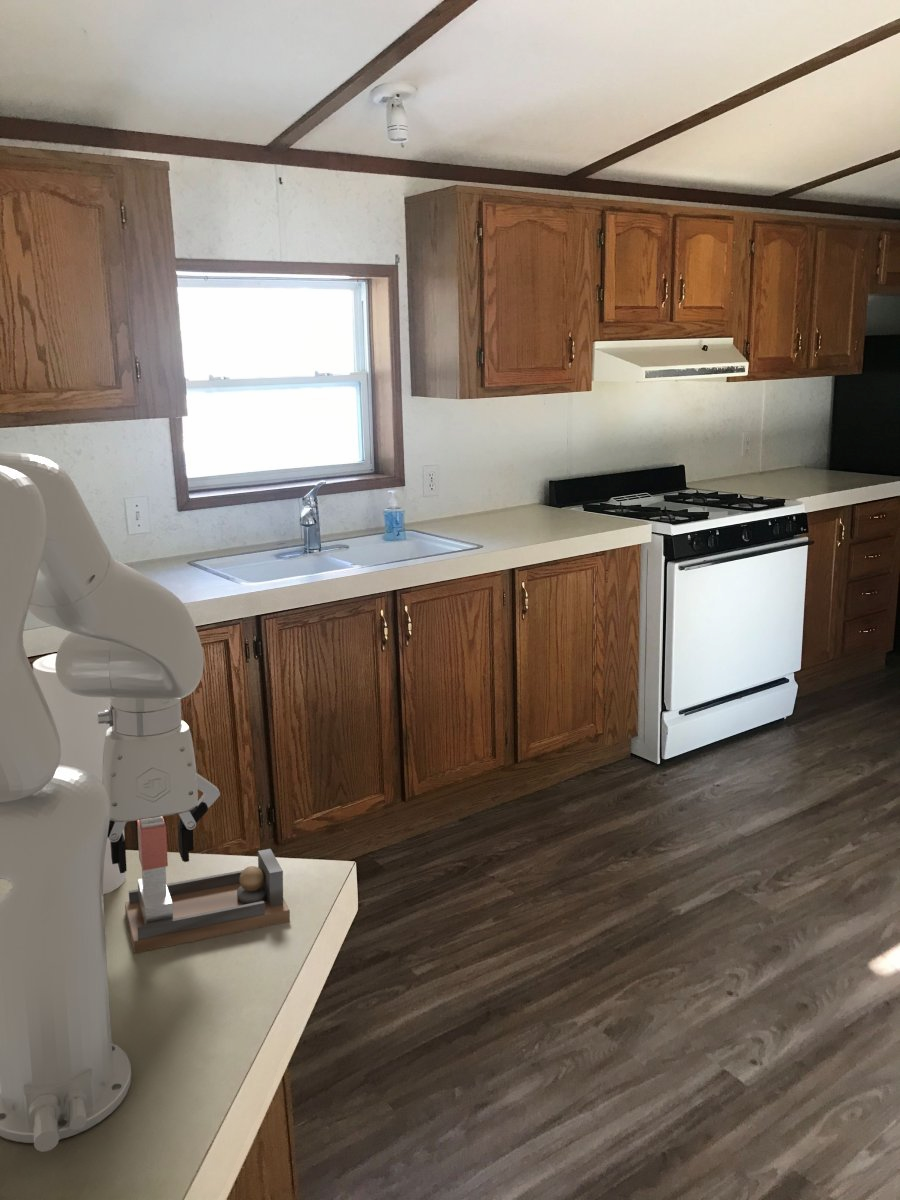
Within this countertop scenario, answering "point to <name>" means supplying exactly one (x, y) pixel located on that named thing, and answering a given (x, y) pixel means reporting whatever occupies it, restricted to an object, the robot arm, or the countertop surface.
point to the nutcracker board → (214, 906)
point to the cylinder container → (78, 739)
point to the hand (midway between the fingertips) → (153, 860)
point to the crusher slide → (153, 871)
